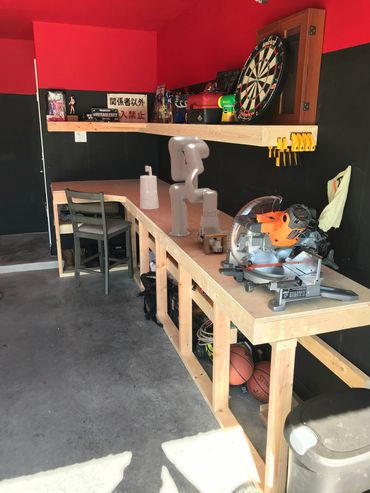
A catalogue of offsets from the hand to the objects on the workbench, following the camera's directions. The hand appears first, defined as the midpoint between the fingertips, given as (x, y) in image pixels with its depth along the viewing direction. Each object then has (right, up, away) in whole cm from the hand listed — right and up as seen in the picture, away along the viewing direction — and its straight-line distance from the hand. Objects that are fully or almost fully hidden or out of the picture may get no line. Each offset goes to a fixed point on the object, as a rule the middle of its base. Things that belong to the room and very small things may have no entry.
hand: (209, 245), depth 235 cm
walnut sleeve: (+2, -4, -8) cm, 9 cm away
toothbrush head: (0, -1, +1) cm, 1 cm away
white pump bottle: (-43, +31, +113) cm, 125 cm away
